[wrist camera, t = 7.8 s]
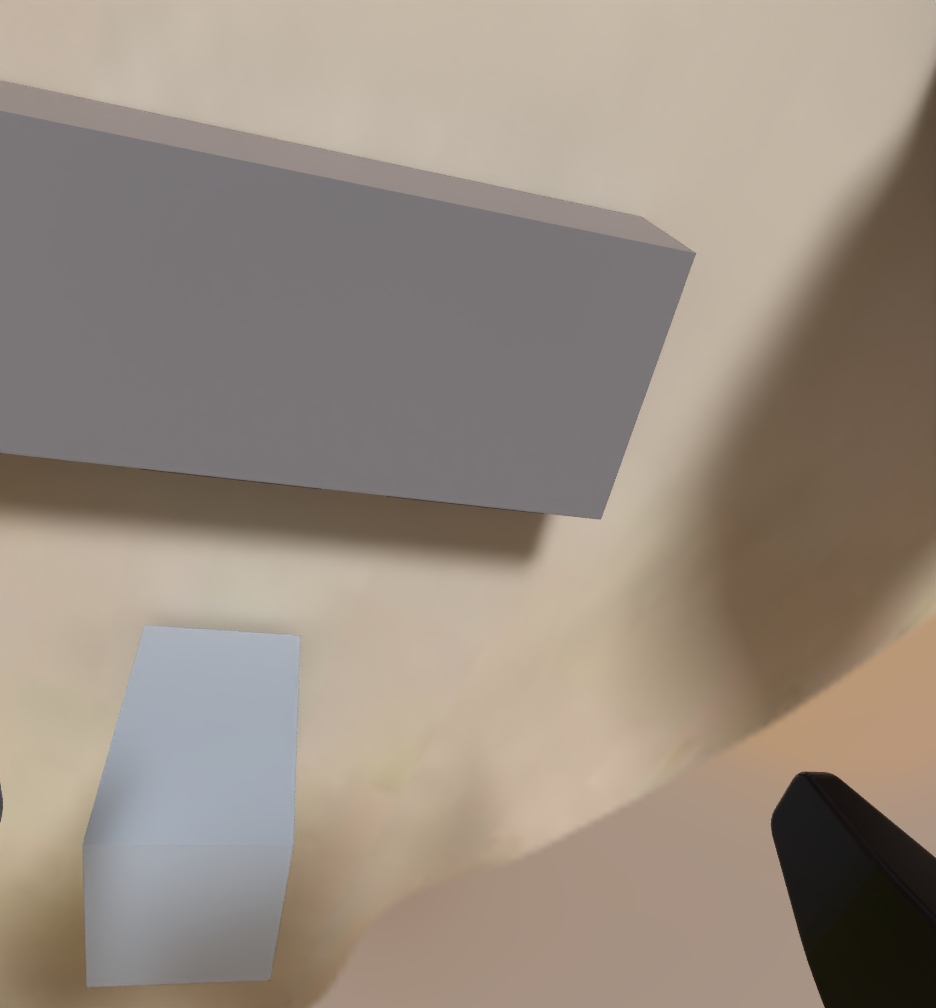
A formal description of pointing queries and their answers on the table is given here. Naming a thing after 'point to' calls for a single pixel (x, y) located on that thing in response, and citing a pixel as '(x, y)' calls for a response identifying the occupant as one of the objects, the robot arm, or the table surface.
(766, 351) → the table surface
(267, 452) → the power strip
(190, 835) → the block
